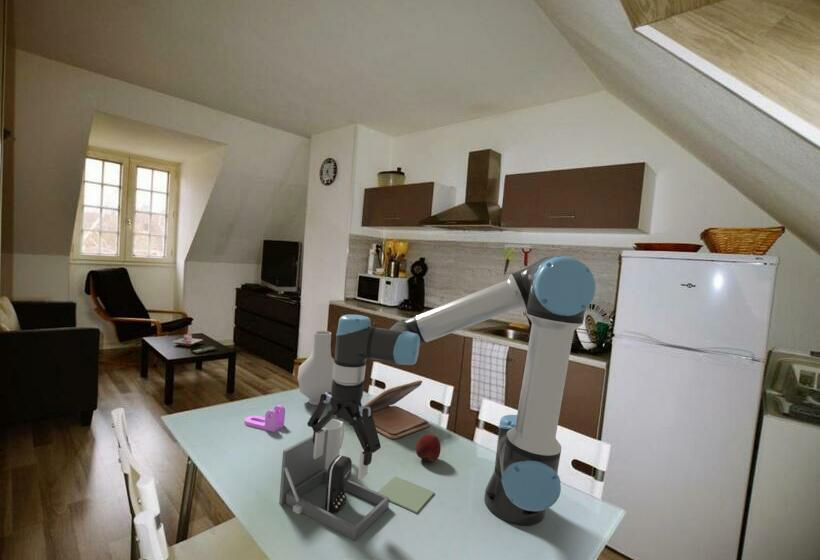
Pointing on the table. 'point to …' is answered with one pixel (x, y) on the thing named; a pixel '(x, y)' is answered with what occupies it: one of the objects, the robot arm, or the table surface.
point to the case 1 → (308, 473)
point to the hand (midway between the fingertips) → (339, 466)
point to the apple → (428, 447)
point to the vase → (317, 369)
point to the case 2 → (395, 412)
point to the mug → (333, 440)
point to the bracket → (268, 419)
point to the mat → (406, 494)
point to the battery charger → (337, 483)
